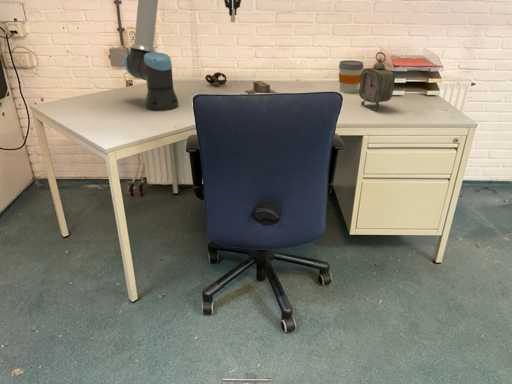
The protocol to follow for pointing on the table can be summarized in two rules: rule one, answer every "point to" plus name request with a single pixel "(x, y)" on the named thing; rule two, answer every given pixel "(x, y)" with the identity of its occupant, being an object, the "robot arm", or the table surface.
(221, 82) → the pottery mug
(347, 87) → the reusable coffee cup
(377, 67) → the tabletop clock
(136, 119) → the table surface
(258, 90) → the walnut block
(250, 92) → the rubber mat
